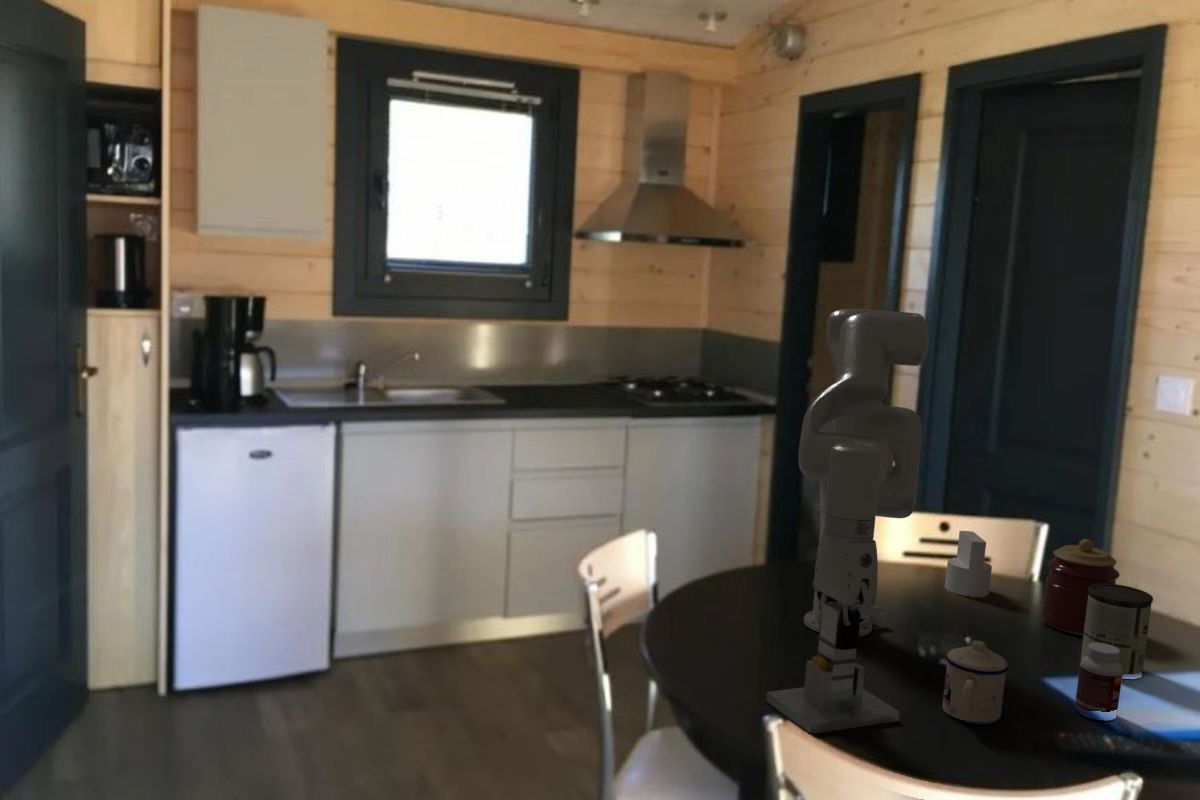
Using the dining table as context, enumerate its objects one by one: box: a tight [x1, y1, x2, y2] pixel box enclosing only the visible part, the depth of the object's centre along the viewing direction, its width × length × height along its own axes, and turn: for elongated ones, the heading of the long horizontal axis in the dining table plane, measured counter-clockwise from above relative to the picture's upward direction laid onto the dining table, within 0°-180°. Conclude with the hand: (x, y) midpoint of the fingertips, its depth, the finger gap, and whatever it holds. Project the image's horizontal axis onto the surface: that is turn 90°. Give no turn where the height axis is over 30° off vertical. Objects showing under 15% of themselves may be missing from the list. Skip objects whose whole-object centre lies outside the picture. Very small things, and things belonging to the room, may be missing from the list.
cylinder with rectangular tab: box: [944, 530, 993, 598], centre depth 235 cm, size 9×9×12 cm
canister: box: [1041, 538, 1121, 633], centre depth 215 cm, size 13×13×18 cm
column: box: [816, 601, 857, 700], centre depth 168 cm, size 4×4×14 cm
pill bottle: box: [1074, 643, 1123, 712], centre depth 173 cm, size 6×6×11 cm
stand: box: [765, 655, 900, 735], centre depth 169 cm, size 16×12×9 cm
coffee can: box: [1080, 583, 1154, 674], centre depth 193 cm, size 10×10×14 cm
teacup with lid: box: [942, 640, 1009, 722], centre depth 169 cm, size 12×9×12 cm
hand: (837, 641), depth 168 cm, fingers closed on column, 4 cm apart
